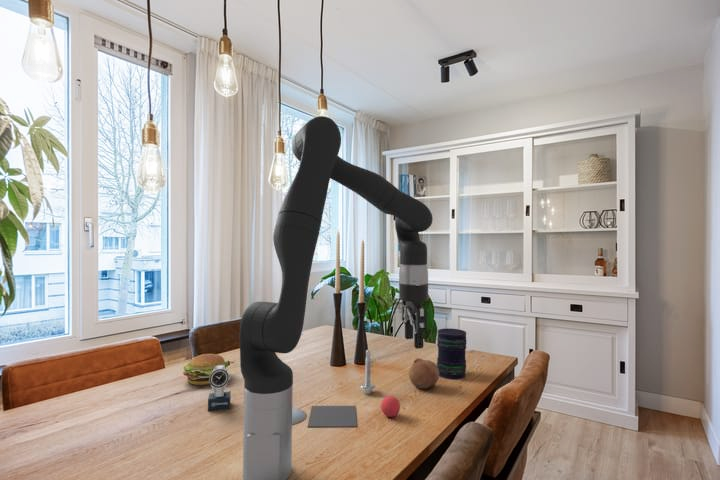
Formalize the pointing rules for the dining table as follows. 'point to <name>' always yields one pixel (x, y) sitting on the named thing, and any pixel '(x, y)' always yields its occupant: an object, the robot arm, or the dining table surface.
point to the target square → (332, 416)
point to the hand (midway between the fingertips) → (413, 343)
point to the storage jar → (451, 353)
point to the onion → (423, 374)
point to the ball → (390, 406)
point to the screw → (367, 376)
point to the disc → (297, 415)
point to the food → (203, 368)
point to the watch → (219, 389)
